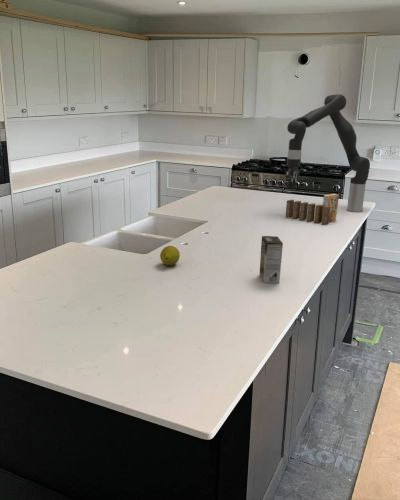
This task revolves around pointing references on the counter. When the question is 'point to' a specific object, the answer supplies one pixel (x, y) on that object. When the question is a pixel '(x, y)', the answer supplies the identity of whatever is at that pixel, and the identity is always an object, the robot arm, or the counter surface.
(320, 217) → the domino
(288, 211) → the domino
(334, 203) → the candy box
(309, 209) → the domino
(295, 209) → the domino
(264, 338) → the counter surface
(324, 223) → the domino
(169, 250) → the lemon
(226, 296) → the counter surface
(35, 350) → the counter surface
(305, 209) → the domino
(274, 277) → the coffee box
